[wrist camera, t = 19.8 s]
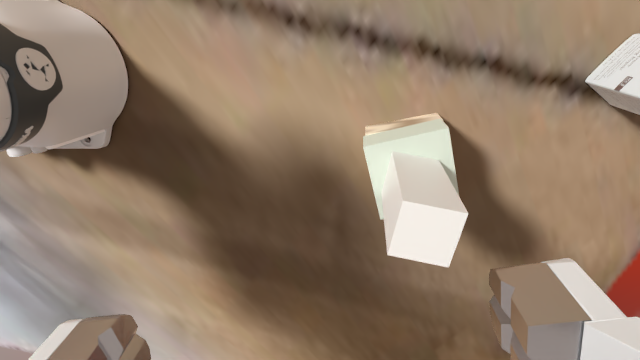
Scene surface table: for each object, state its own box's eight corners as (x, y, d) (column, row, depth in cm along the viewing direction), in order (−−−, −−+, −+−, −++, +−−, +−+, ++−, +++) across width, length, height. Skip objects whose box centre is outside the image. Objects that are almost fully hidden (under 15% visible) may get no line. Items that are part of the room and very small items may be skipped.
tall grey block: (425, 201, 37) (448, 267, 27) (381, 192, 37) (387, 255, 27) (438, 160, 35) (468, 213, 25) (392, 150, 36) (403, 200, 26)
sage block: (379, 203, 42) (380, 219, 39) (363, 136, 40) (363, 147, 36) (451, 189, 41) (460, 204, 37) (440, 118, 38) (448, 127, 34)
